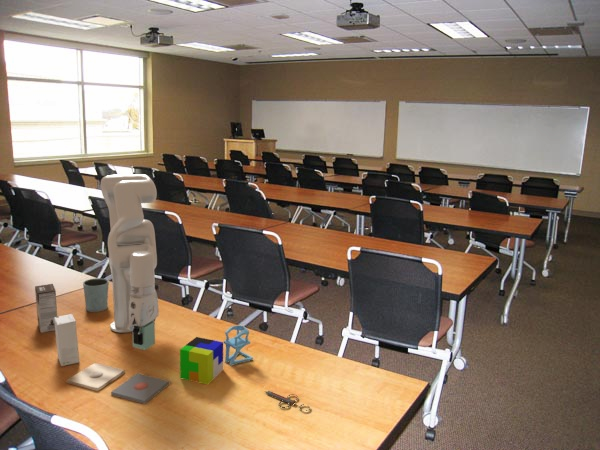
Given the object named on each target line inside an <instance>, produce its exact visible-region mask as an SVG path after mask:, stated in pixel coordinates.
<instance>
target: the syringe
mask: <svg viewBox="0 0 600 450" xmlns="http://www.w3.org/2000/svg"><path fill="white" fill-rule="evenodd" d="M263 392H264V393H265V394H266V395H267V394H268V395H267V396H269V395H270V396H269V397H271V396H273V397H276V398H278V399H281V400H283V401H281V400H280V401H279V402H278V407H279V406H280V407H282V408H281V409H286V408H285V407H288V408H290V407H289V406H292V405H293V404H294V403H295V402H296V403H297V401H298V400H299V396H298V395H297V394H289V395H287V397H285V396H283V395H281V394H278V393H276V392H273V391H270V390H268V391H265V390H263ZM290 395H296V396H297V397H298V398H297V397H296V399H291V398H289V397H288V396H290ZM273 397H272V398H273ZM290 397H291V396H290ZM276 398H275V399H276ZM278 399H277V400H278ZM297 399H298V400H297ZM295 400H297V401H295ZM281 402H283V403H285V402H288V403H289V404H288V403H287V404H288V406H282V405H281V404H282V403H281ZM290 404H292V405H290ZM304 404H305V403H303V404H300V406H302V405H304ZM300 406H298V407H299V408H300V409H301V410H303V409H302V408H301V407H300ZM280 407H279V408H280ZM302 407H303V406H302ZM307 410H310V408H309V409H306V411H307ZM310 411H311V410H310Z"/></svg>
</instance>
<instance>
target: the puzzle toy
mask: <svg viewBox="0 0 600 450" xmlns="http://www.w3.org/2000/svg"><path fill="white" fill-rule="evenodd" d="M179 371H180V372H179V373H180V374H179V375H180V376H179V377H180V379H182V380H186V381H192V382H196V383H200V384H204V385H209V384H210V383H211V382H212V381H214V379H216V377H218V375H220V374H221V372H222V371H224V341H219V340H214V339H208V338H204V337H199V336H196V337H195V338H193V339H191V340H190V341H189V342H188V343H186V344H185V345H184V346H183V347H181V348H179Z"/></svg>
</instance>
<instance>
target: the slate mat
mask: <svg viewBox="0 0 600 450" xmlns="http://www.w3.org/2000/svg"><path fill="white" fill-rule="evenodd" d="M168 385H170V380H166V379H163V378H158V377H153V376H150V375H146V374H143V373H138V372H137V373H136V374H135V375H133V376H131V377H130V378H129V379H127V380H126V381H124V382H123V383H121V385H120V384H119V386H117V387H116V388H114V389H113V390H112V391H110V395H111V396H113V397H118V398H122V399H124V400H125V399H126V400H128V401H132V402H137V403H140V404H144V405H145V404H147V403H148V402H150V400H152V399H153V398H154V397H155V396H156V395H157V394H159V393H161V391H163V390H164V389H165V388H167V387H168Z"/></svg>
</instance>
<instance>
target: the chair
mask: <svg viewBox="0 0 600 450" xmlns="http://www.w3.org/2000/svg"><path fill="white" fill-rule="evenodd" d="M233 330H235V331H236V336H233V337H231V338H230V337H229V335H228V334H229V333H230V332H231V331H233ZM224 334H225V336H226V339H225V340H223V345H224V344H225V357H224V363H226V364H227V363H229V366H234V365H237V364H236V363H239V364H241V363H240V362H243V363H246V362H245V361H248V362H250V361H249V360H252V359H254V358H253V356H251V355H249V354H247V353H245V352H243V351H241V350H242V349H243V348H244V347H246V346H248V345H251V340H249V339H248V338H249V334H250V330H249V329H248V328H247V327H245V326H244V325H234V326H230V327H229V328H228V329H227V330H226V331H224ZM244 335H245V337H244V338H243V337H242V336H244ZM231 348H232V349H235V351H234V353H232V355H230V351H231ZM238 353H240V354H238ZM241 354H242V355H241ZM238 355H241V356H243V355H244V356H243V357H245V356H246V357H245V358H241V359H237V356H238ZM247 357H248V358H247ZM236 359H237V360H236ZM228 361H229V362H228ZM252 361H253V360H252ZM233 364H234V365H233Z"/></svg>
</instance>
